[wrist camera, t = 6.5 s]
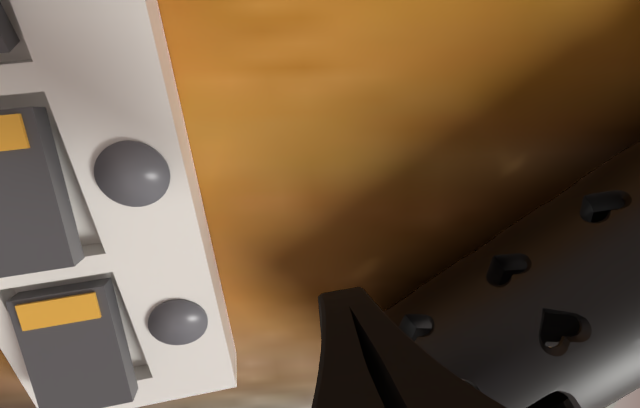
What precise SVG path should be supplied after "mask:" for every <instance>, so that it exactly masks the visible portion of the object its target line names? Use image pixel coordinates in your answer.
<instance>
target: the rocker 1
mask: <svg viewBox="0 0 640 408" xmlns="http://www.w3.org/2000/svg"><path fill="white" fill-rule="evenodd" d="M19 42H20V40H19V38H18V36H17V34H16V32H15V30H14V28H13V26H12V24H11V22H10V20H9V18H8V16H7V14H6V12H5V10H4V8H3V6H2V4H1V2H0V53H8V52H11V51H12V49H13V48H14V47H15V46H16V45H17V44H18V43H19Z"/></svg>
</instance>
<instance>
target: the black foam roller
mask: <svg viewBox="0 0 640 408" xmlns="http://www.w3.org/2000/svg"><path fill="white" fill-rule="evenodd" d="M383 312H384V313H385V314H386V315H387V316H388V317H389V318H390V319H391V320H392V321H393V322H394V323H395V324H396V325H397V326H398V327H399V328H400V329H401V330H402V331H403V332H404V333H405V334H406V335H408V336H409V337H410V338H411V339H412V340H413V341H414V342H415V343H416V344H418V345H419V346H420V347H421V348H422V349H423V350H424V351H426V352H427V353H428V354H429V355H430V356H432V357H433V358H434V359H435V360H437V361H438V362H439V363H440V364H442V365H443V366H444V367H446V368H447V369H448V370H450V371H451V372H452V373H454V374H455V375H456V376H458V377H459V378H461V379H462V380H464V381H465V382H467V383H468V384H469V385H471V386H472V387H474V388H475V389H477V390H479V391H480V392H482V393H484V394H485V395H487V396H488V397H490V398H492V399H493V400H495V401H497V402H498V403H500V404H501V405H503V406H505V407H506V408H605V407H607V406H609V405H611V404H612V403H614V402H616V401H617V400H619V399H621V398H623V397H624V396H626V395H627V394H629V393H631V392H633V391H635V390H636V389H638V388H640V142H638V143H636V144H635V145H633V146H631V147H629V148H627V149H625V150H623V151H622V152H620V153H619V154H617V155H616V156H615V157H613V158H612V159H610V160H609V161H607V162H606V163H604V164H603V165H601V166H600V167H598V168H597V169H595V170H594V171H592V172H591V173H589V174H588V175H586V176H585V177H583V178H582V179H580V180H579V181H577V182H576V183H575V184H574V185H572V186H571V187H570V188H568V189H567V190H566V191H564V192H562V193H561V194H560V195H559V196H557V197H556V198H554V199H553V200H551V201H550V202H548V203H546V204H544V205H541V206H540V207H538V208H537V209H536V210H534V211H533V212H531V213H530V214H528V215H527V216H525V217H524V218H522V219H521V220H519V221H518V222H516V223H515V224H513V225H512V226H510V227H509V228H507V229H506V230H504V231H503V232H501V233H500V234H498V235H497V236H496V237H494V238H493V239H492V240H491V241H489V242H488V243H487V244H486V245H484V246H482V247H480V248H479V249H478V250H477V251H475V252H474V253H472V254H470V255H469V256H467V257H465V258H462V259H461V260H459V261H458V262H456V263H455V264H454V265H452V266H451V267H449V268H448V269H446V270H445V271H443V272H442V273H440V274H439V275H437V276H436V277H434V278H433V279H431V280H430V281H428V282H427V283H425V284H424V285H422V286H421V287H419V288H418V289H417V290H416V291H414V292H413V293H412V294H411V295H409V296H408V297H407V298H405V299H403V300H401V301H400V302H399V303H397V304H396V305H394V306H392V307H391V308H389V309H387V310H385V311H383Z"/></svg>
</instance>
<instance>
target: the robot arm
mask: <svg viewBox="0 0 640 408" xmlns="http://www.w3.org/2000/svg"><path fill="white" fill-rule="evenodd" d="M318 303H319V315H320V327H321V339H322V341H321V354H320V362H319V370H318V377H317V383H316V389H315V394H314V399H313V403H312V408H506V407H505V406H503V405H501V404H500V403H498V402H497V401H495V400H493V399H492V398H490V397H488V396H487V395H485V394H484V393H482V392H480V391H479V390H477V389H475V388H474V387H472V386H471V385H469V384H468V383H467V382H465V381H464V380H462V379H461V378H459V377H458V376H456V375H455V374H454V373H452V372H451V371H450V370H448V369H447V368H446V367H444V366H443V365H442V364H440V363H439V362H438V361H437V360H435V359H434V358H433V357H432V356H430V355H429V354H428V353H427V352H426V351H424V350H423V349H422V348H421V347H420V346H419V345H418V344H416V343H415V342H414V341H413V340H412V339H411V338H410V337H409V336H408V335H406V334H405V333H404V332H403V331H402V330H401V329H400V328H399V327H398V326H397V325H396V324H395V323H394V322H393V321H392V320H391V319H390V318H389V317H388V316H387V315H386V314H385V313H384V312H383V311H382V310H381V309H380V307H379V306H378V305H377V304H376V303H375V302H374V301H373V300H372V299H371V297H370V296H369V295H368V294H367V293H366V292H365V290H364V289H363V288H361V287H355V288H350V289H344V290H338V291H333V292H327V293H322V294H321V295H320V296H319V297H318Z"/></svg>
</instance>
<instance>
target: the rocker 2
mask: <svg viewBox="0 0 640 408" xmlns="http://www.w3.org/2000/svg"><path fill="white" fill-rule="evenodd" d="M6 306H7V309H8V312H9V315H10V318H11V321H12V325H13V328H14V331H15V334H16V337H17V340H18V343H19V347H20V350H21V353H22V356H23V359H24V362H25V366H26V369H27V372H28V375H29V378H30V381H31V385H32V388H33V391H34V394H35V397H36V400H37V404H38V407H39V408H105V407H110V406H115V405H119V404H124V403H129V402H133V400H134V398H135V396H136V393H137V391H138V384H137V380H136V376H135V372H134V368H133V364H132V360H131V356H130V352H129V347H128V343H127V339H126V335H125V331H124V327H123V323H122V319H121V315H120V311H119V307H118V303H117V299H116V295H115V291H114V287H113V282H112V278H111V277H110V278H104V279H98V280H91V281H85V282H79V283H73V284H66V285H60V286H54V287H48V288H41V289H35V290H29V291H23V292H18V293H17V294H15V295H14V296H13V297H11V298H10V299H9V300H7V301H6Z"/></svg>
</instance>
